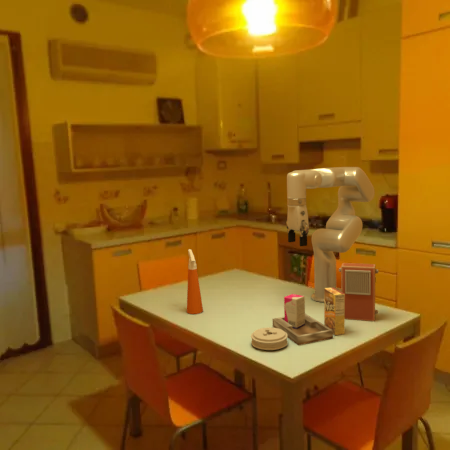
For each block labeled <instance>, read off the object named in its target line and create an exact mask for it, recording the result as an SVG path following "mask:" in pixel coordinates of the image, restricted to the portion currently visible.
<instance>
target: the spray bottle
mask: <svg viewBox="0 0 450 450" xmlns="http://www.w3.org/2000/svg"><path fill="white" fill-rule="evenodd" d="M187 251H188V252H187V254H188V258H189V259H188V264H187V268H188V270H187V295H186V296H187V297H186V313H187V314H189V315H198V314H202V313H203V312H204V308H203V301H202V295H201V287H200V282H199V281H200V280H199V275H198V268H197V263H196V259H195V255H194V253H193V250H192V249H190V248H189V249H188V250H187Z"/></svg>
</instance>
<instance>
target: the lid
mask: <svg viewBox="0 0 450 450" xmlns="http://www.w3.org/2000/svg"><path fill="white" fill-rule="evenodd" d="M250 337H251V342H250V343H251V345H252V346H253V347H254V348H256V349H258V350H262V351H264V350H266V351H273V350H279V349H283V348H285V347H286V346H288V343H289V342H288V336H287V333H286V332H284V331H283V330H281V329H278V328H274V327H270V326H269V327H261V328H258V329H255V330H254V331H253V332H252V333H251V334H250Z"/></svg>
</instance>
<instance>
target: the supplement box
mask: <svg viewBox="0 0 450 450" xmlns="http://www.w3.org/2000/svg"><path fill="white" fill-rule="evenodd" d="M305 300H306V299H305V295H300V294H297V293H296V294H295V293H291V294H289V295H286V296H284V297H283V302H284V303H283V304H284V305H283V307H284V315H283V317H285V321H286V322H287V323H289V324H290V325H292V328H294V329H298V328H300V327H302V326H304V325H305V314H306V312H305V311H306V305H305V304H306V301H305Z"/></svg>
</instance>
